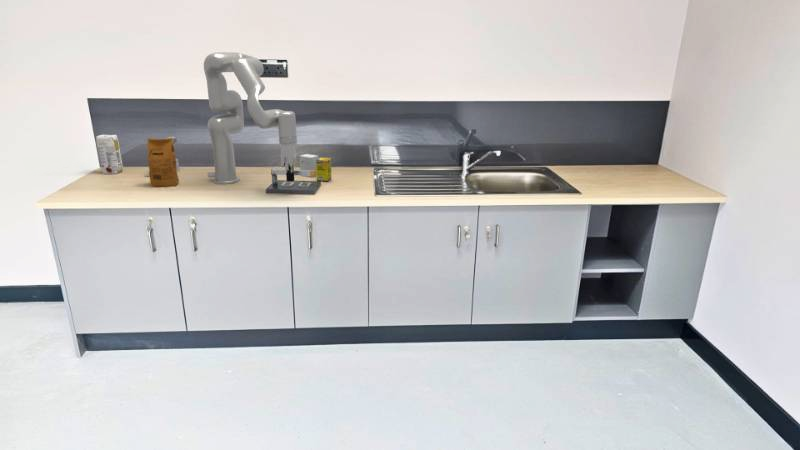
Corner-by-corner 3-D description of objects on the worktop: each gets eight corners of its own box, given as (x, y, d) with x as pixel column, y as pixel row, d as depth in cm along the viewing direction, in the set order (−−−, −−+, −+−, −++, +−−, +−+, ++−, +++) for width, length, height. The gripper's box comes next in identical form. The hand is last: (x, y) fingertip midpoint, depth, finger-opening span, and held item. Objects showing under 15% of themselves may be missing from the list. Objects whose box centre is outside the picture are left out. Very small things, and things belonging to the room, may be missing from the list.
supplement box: (328, 182, 245) (327, 160, 241) (316, 181, 246) (315, 159, 243) (331, 179, 251) (331, 158, 247) (320, 178, 252) (319, 157, 248)
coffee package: (154, 181, 240) (147, 136, 232) (181, 181, 242) (175, 136, 234) (147, 187, 231) (140, 140, 223) (176, 187, 232) (169, 139, 225)
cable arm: (270, 175, 229) (269, 170, 228) (272, 173, 232) (271, 168, 231) (314, 176, 229) (314, 171, 228) (315, 174, 232) (315, 169, 231)
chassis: (266, 193, 225) (265, 179, 223) (275, 184, 241) (274, 170, 238) (314, 194, 225) (314, 180, 223) (321, 185, 240) (320, 172, 238)
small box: (319, 175, 257) (318, 155, 254) (312, 178, 253) (311, 157, 249) (307, 173, 261) (306, 153, 258) (300, 175, 257) (299, 155, 253)
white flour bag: (117, 174, 251) (110, 136, 245) (100, 174, 251) (93, 136, 245) (125, 171, 258) (119, 134, 252) (108, 170, 258) (102, 133, 252)
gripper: (283, 137, 225) (286, 176, 231) (274, 143, 211) (277, 185, 217) (300, 137, 225) (302, 177, 231) (292, 143, 211) (295, 185, 217)
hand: (290, 180), depth 224 cm, fingers closed
